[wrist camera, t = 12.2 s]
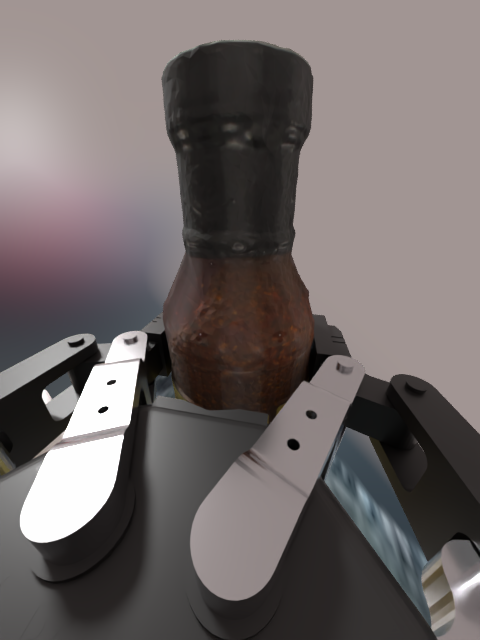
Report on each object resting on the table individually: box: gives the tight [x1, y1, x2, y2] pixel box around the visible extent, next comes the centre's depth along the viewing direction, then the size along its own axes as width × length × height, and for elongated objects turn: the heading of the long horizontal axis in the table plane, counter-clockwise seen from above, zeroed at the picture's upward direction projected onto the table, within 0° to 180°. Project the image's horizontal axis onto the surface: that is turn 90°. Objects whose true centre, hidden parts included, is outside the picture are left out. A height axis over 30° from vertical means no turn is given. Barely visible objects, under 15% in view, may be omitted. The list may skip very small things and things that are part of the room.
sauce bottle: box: [162, 40, 315, 424], centre depth 11 cm, size 7×6×20 cm
